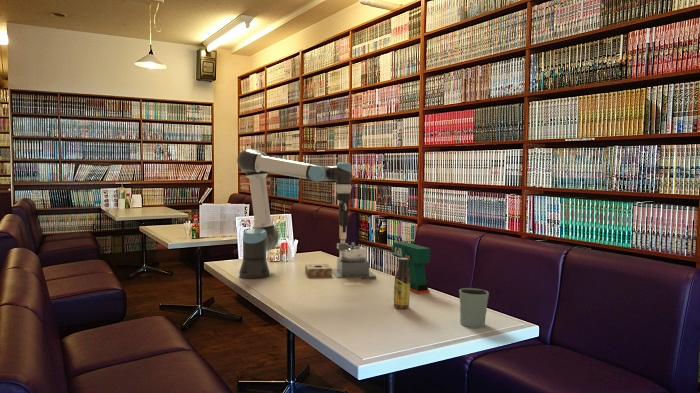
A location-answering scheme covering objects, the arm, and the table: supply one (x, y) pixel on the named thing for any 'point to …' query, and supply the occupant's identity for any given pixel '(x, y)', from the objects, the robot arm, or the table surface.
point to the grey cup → (473, 307)
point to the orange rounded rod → (341, 239)
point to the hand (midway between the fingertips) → (342, 238)
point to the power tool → (414, 264)
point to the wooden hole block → (318, 270)
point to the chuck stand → (353, 270)
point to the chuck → (351, 253)
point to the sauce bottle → (402, 285)
